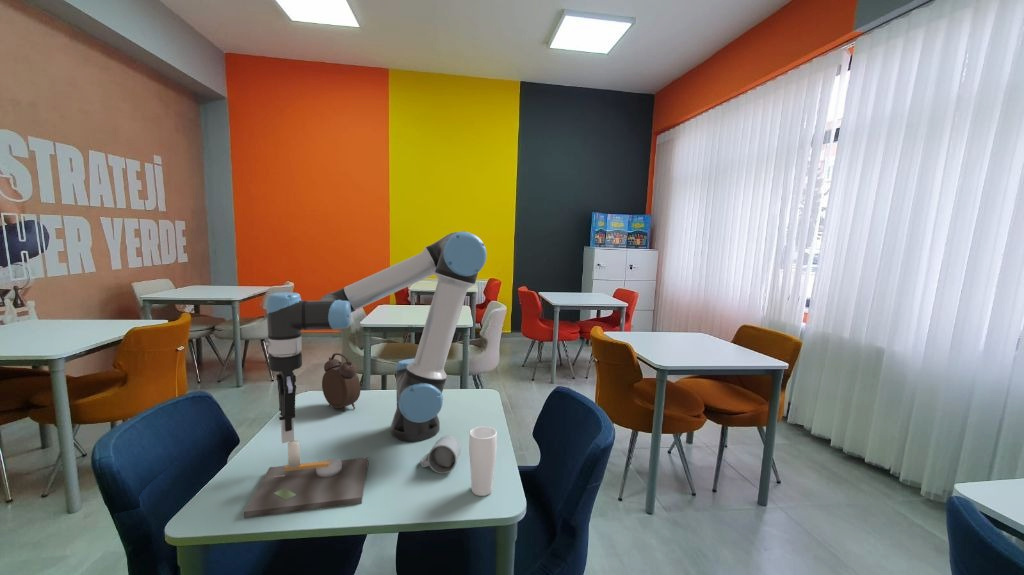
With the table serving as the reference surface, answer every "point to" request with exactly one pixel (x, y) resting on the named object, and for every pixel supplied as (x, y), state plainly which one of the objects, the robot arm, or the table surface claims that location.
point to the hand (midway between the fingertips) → (287, 440)
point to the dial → (322, 468)
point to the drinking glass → (482, 459)
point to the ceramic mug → (443, 455)
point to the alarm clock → (340, 382)
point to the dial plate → (308, 489)
